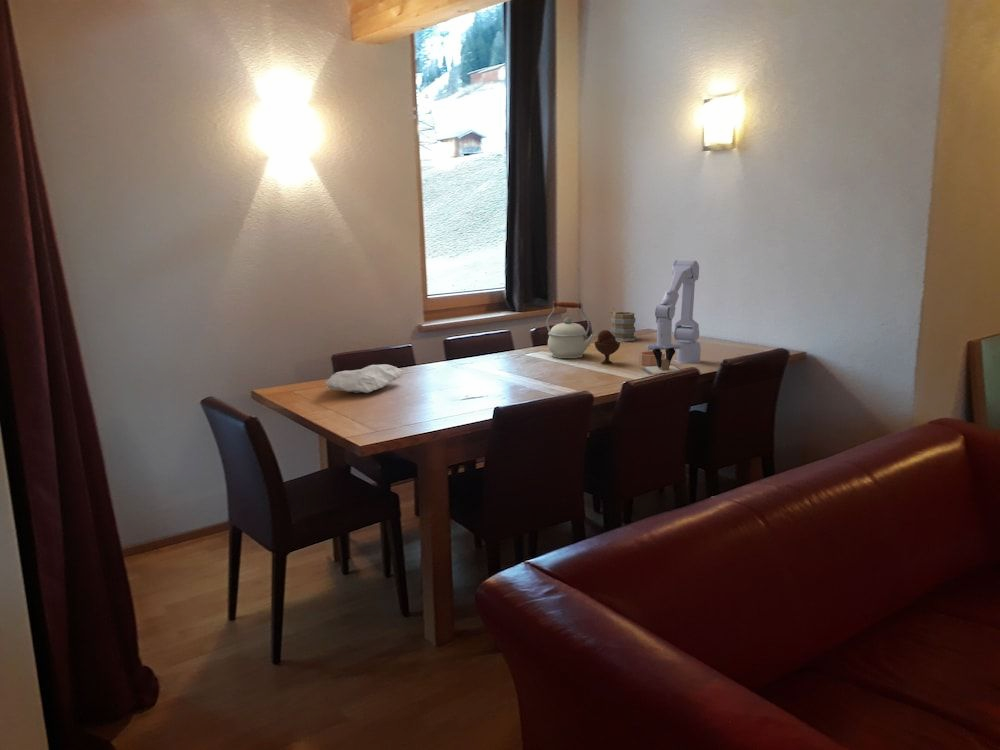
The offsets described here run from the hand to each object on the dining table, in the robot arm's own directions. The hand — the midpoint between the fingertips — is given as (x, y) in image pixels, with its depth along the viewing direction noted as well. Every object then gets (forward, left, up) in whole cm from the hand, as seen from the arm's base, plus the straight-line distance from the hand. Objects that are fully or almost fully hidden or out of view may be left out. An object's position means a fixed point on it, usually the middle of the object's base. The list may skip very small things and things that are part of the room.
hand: (663, 366), depth 310 cm
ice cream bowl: (+18, -20, -2) cm, 27 cm away
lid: (0, 0, -2) cm, 2 cm away
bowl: (0, -14, -2) cm, 14 cm away
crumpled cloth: (+122, +4, -2) cm, 122 cm away
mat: (0, 0, -2) cm, 2 cm away
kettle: (+29, -41, -2) cm, 50 cm away
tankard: (-6, -79, -2) cm, 80 cm away
